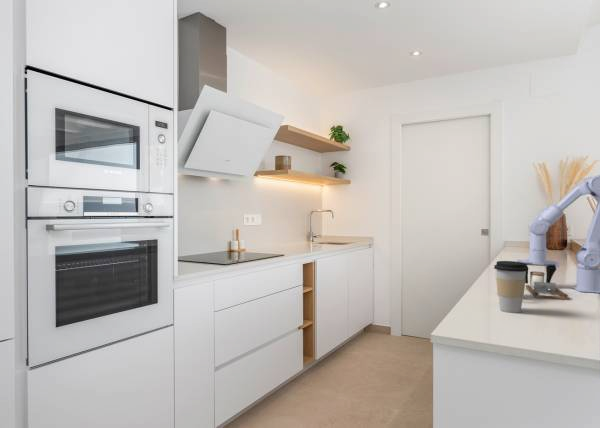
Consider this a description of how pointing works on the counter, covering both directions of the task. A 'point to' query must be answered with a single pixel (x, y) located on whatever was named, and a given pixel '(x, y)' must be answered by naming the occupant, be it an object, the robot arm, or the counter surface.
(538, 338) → the counter surface
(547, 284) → the pusher plate
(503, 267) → the coffee cup
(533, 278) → the jar
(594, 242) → the robot arm
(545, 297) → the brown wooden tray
